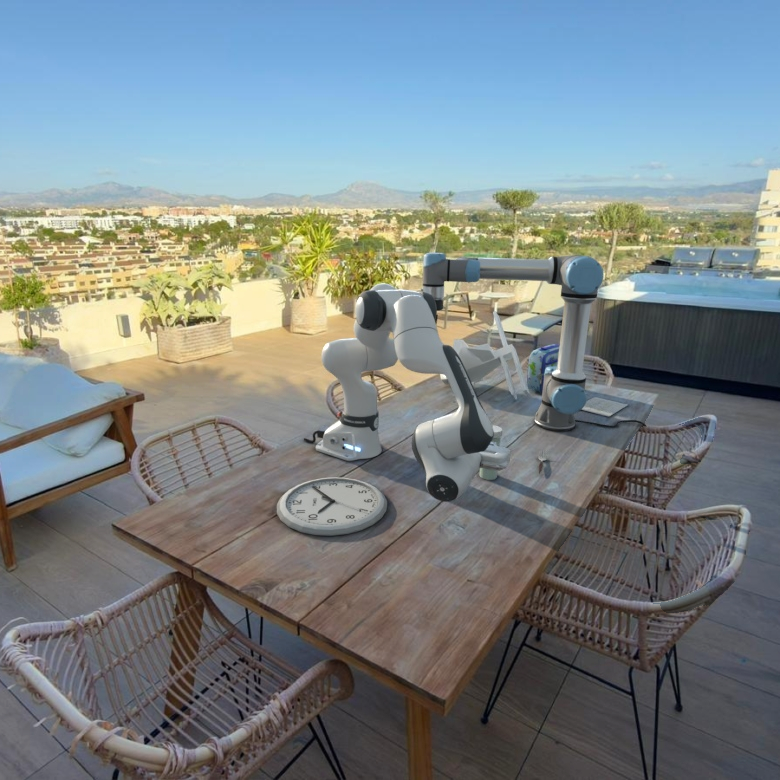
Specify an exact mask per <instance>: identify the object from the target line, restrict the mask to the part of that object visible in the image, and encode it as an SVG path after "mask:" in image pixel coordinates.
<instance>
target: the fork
mask: <svg viewBox="0 0 780 780" xmlns="http://www.w3.org/2000/svg"><path fill="white" fill-rule="evenodd" d="M547 458H548V451H546V450H544V449H542V451H541V449H540V450H539V454H538V460H539V461H540V463H539V464H538V474H541V472H542V469H543V467H544V465H543V464H544V463H543V462H544V461H546V460H547Z"/></svg>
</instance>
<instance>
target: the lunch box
mask: <svg viewBox="0 0 780 780" xmlns="http://www.w3.org/2000/svg"><path fill="white" fill-rule="evenodd" d="M559 346H560V344H556V343H555V344H554V343H553V344H548V345H545V346H541V347H539V348H536V349H534V350H532V351H531V353H530V355H529V357H528V363H527V375H526V384H527V387H528V390H529V391H532V392H533V391H534V392H539V393H540V394H542V392H543V382H544V373H545V369H546V368H547V367H553V366H557V364H558V355H559Z"/></svg>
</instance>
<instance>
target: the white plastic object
mask: <svg viewBox="0 0 780 780" xmlns="http://www.w3.org/2000/svg"><path fill="white" fill-rule="evenodd" d="M492 315H493V319H494V321H495V324H496V325H495V326H496V328H497V332H498V335H499V338H500V342H501V345H502V347H500V348H498V349H496V350H495V349H493V348H492V347H491V346H490V344H489V343H488V342H487V343H483V344H479V345H473V346H469V345H468V343H466V342H465V340H464V339H463V338H460V339H458V338H454V340H453V344H452V348H453V349H454V350H455V351H456V352H457V354H458V355H459V357H460V359H461V361H462V363H463V365H464V367H465V369H466V371H467V374H468V376H469V378H470V380H471V383H473V384H477V383H480V382H482V381H484V378H485V377H486V376H487V375H489V374H490V373H492V372H494V371H495V370H496V369H497V368H499V367H500V366H502V370H503V373H504V376H505V380H506V383H507V386H508V390H509V393H510V394H511V395H512V397H513V398H514V399H515V400H517V392H516V391H517V390H516V388H515V385H514V381H513V378H512V375H511V371H510V369H509V365H508V361H510V360H513V363H514V366H515V369H516V372H517V376H518V380H519V382H520V385H521V389H522V391H523V393H524V395H525V396H526V397H528V396H531V395H530V390H529V389H528V387H527V380H526V378H525V375H524V371H523V369H522V368H523V367H522V366H521V362H520V359H519V355H518V352H517V349H516V347H515V346H514V345H513V343H511V344H508V341H507V337H506V334H505V331H504V328H503V325H502V321H501V318H500V315H499V314H498V312H497V311H496V310H495V311H492ZM439 376H440V381H442V383H443V384H444V385H445V386H450V383H449V381H448V379H447V377H446V376H445V375H443V374H439Z"/></svg>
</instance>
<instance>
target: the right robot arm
mask: <svg viewBox="0 0 780 780" xmlns="http://www.w3.org/2000/svg"><path fill="white" fill-rule="evenodd" d="M422 264H423V265H422V288H420V291H422V292H426V293H429V294H431V295H432V297H433V298H434V300H435V302H436V306H437V312H439V311H442V310H444V299H443V298H444V297H445V282H447V283H449V282H452V283H453V282H457V283H468V284H470V283H477V282H479V281H480V280H495V281H497V280H499V281H500V280H501V281H526V282H527V281H531V282H546V283H547V284H548V285H557V286H561V289H560V298H561V299H562V300H563V303H564V305H563V313H562V322H561V330H560V339H559V345H560V346H559V355H558V364H557V366H553V367H547V368H546V369H545V373H544V382H543V392H542V393H541V402H540V405H539V407H538V410H537V411H536V413H535V417H534V424H535V425H536V426H537V427H539V428H542V429H544V430H549V431H556V432H567V431H572V430H574V429H575V428H576V423H580V424H587V425H593V426H599V427H603V428H617V427H618V426H619V425H620V424H621V423H638V424H640V425H642V426H643V427H644V428H645V427H647V426H648V425H646V423H644V422H643V421H641V420H637V419H623V420H618V421H617V422H616V423H615V424H610V425H609V424H603V423H598V422H592V421H587V420H580V419H576V418H575V417H576V416H575V414H576V413H579V412H580V411H582V410H581V409H582V408H583V407H584V406H585V404H586V401H588V397H587V392H586V389H585V388H586V383H587V382H586V381H587V375H586V374H585V373H584V371H583V369H584V361H585V355H586V347H587V339H588V338H587V337H588V330H589V324H590V318H591V317H590V316H591V308H592V303H593V302H594V301H596V300H597V298H598V294H599V293H598V291H599V288H601V285H602V284H603V281H604V269H603V267H602V265H601V264H600V262H599V261H597V260H596V259H595V258H594V257H592V256H587V255H581V254H574V255H573V254H572V255H565V256H551V257H549V258H548V259H545V258H544V259H543V258H542V259H541V258H540V259H539V258H501V257H500V258H497V257H496V258H495V257H494V258H492V257H466V256H460V257H457V258H455V259H451V258H449V259H448V258H447V257H446V253H444V252H427V253H425V254H424V255H423V263H422ZM438 318H439V315H438V313H437V315H436V319H435V323H436V325H437V324H438Z"/></svg>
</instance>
